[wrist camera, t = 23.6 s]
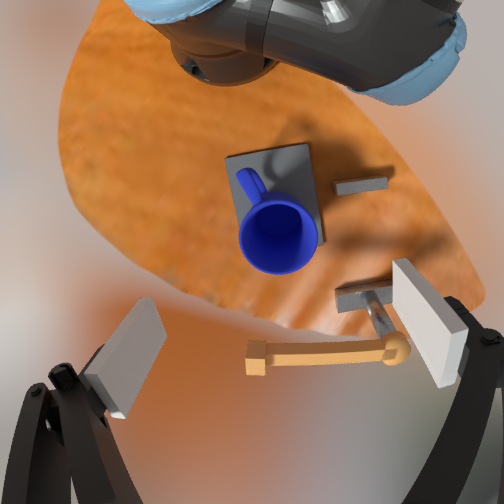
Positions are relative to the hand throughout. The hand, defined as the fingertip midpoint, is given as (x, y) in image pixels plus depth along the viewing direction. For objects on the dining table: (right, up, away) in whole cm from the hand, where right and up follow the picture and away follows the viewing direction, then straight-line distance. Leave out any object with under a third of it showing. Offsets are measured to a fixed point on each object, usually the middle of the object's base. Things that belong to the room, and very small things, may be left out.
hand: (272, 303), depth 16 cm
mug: (+2, +9, +25) cm, 26 cm away
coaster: (+2, +9, +25) cm, 27 cm away
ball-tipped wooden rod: (+8, -8, +17) cm, 21 cm away
